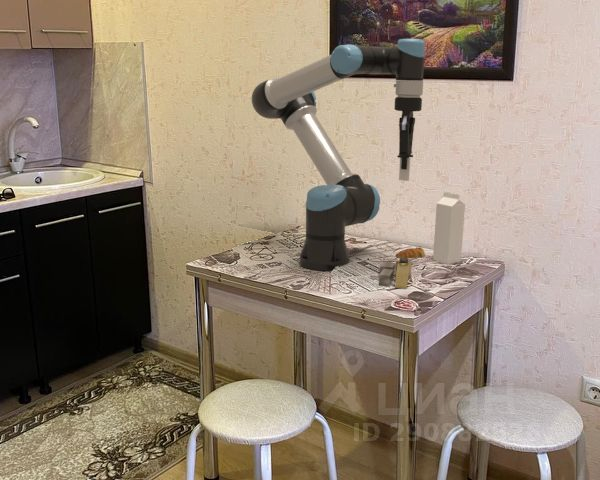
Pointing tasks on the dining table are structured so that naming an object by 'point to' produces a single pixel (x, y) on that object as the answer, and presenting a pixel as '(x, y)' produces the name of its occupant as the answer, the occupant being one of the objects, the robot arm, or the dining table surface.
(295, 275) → the dining table surface
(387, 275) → the board
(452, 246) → the milk
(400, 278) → the latch bar
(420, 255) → the pastry
